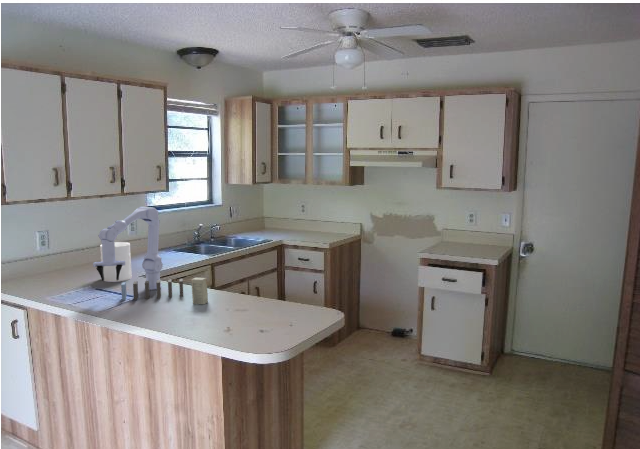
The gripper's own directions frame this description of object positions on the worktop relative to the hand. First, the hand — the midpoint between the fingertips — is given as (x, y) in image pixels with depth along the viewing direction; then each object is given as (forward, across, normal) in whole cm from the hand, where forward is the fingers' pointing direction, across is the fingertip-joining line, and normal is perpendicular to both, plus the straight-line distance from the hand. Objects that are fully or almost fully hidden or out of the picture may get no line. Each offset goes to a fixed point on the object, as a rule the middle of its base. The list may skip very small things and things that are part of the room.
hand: (110, 280), depth 245 cm
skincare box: (+10, +42, -16) cm, 47 cm away
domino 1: (+10, +6, 0) cm, 12 cm away
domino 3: (+10, +17, 0) cm, 20 cm away
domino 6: (+10, +34, 0) cm, 35 cm away
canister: (+10, -4, +45) cm, 46 cm away
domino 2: (+10, +12, 0) cm, 15 cm away
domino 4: (+10, +22, 0) cm, 25 cm away
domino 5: (+10, +28, 0) cm, 30 cm away
